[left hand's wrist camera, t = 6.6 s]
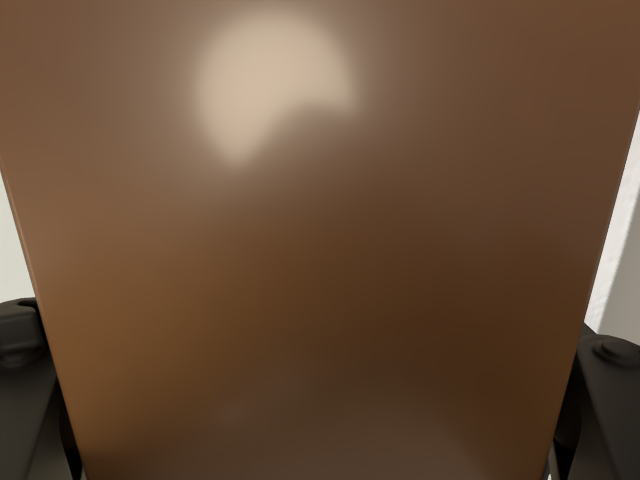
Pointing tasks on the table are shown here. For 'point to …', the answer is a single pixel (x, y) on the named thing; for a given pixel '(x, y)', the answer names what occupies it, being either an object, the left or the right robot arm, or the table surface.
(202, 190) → the box
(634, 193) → the table surface
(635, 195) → the table surface
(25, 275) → the table surface
